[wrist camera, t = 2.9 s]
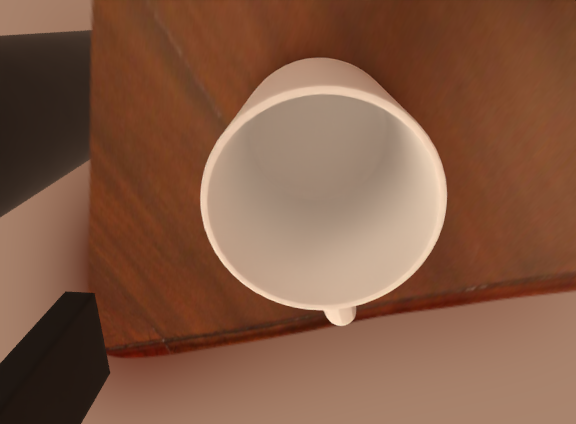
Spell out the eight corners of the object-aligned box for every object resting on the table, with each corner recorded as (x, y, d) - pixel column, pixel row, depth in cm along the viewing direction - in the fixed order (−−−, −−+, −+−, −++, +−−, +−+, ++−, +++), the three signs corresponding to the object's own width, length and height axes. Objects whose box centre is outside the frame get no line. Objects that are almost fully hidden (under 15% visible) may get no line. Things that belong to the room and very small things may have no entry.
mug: (400, 247, 26) (450, 374, 17) (270, 262, 27) (249, 391, 18) (387, 42, 21) (446, 62, 12) (228, 69, 22) (169, 108, 13)
